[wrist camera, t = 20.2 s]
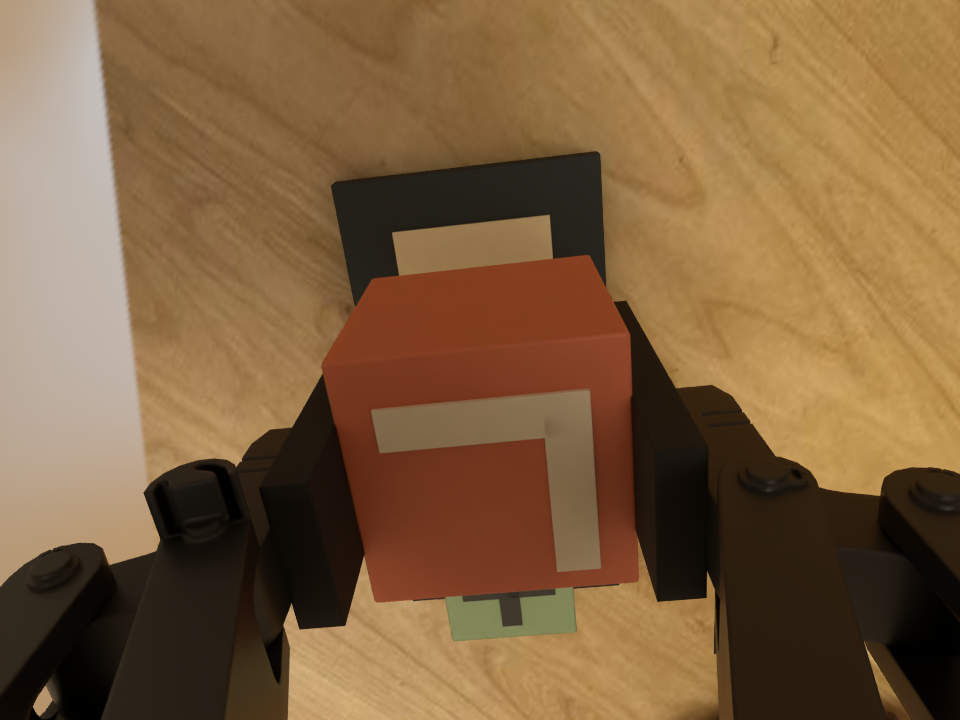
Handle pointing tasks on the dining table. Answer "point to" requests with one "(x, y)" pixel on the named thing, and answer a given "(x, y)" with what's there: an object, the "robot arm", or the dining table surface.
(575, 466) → the letter block l
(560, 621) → the green plus cube
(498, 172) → the word mat
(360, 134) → the dining table surface
